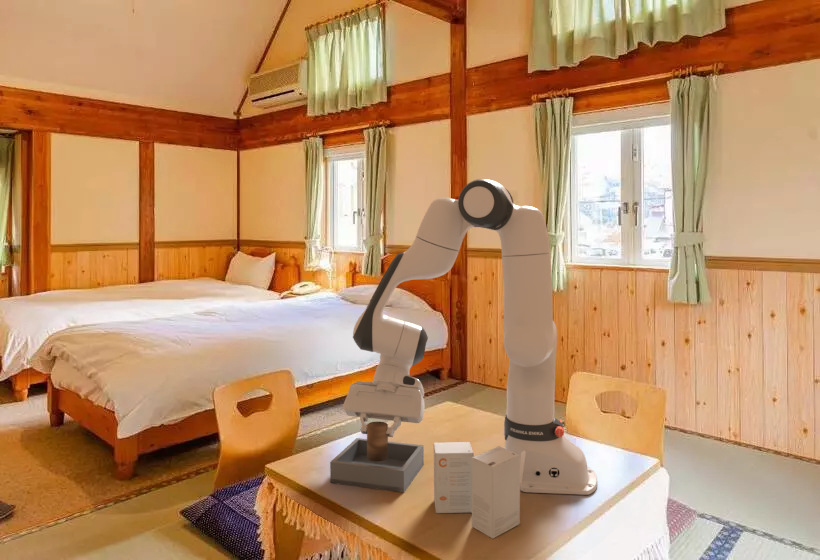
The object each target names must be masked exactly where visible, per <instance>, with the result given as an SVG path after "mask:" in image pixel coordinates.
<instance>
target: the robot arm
mask: <svg viewBox="0 0 820 560" xmlns="http://www.w3.org/2000/svg"><path fill="white" fill-rule="evenodd" d="M546 223H547V222H546V219H545V216H544V214H543V212H542V211H541V210H540V209H539V208H537V207H534V206H529V205H516V204H515V203H514V199H513V196H512V194H511V192H510V191H509V190H508V189H507V188H505V186H504V185H502V184H501V183H499V182H497V181H495V180H491V179H487V178H478V179H474V180H472V181H469V182H468V183H467V184H465V186H464V187H463V188H462V190H461V191H460V193H459V195H458V199H456V198H451V197H438V198H436V199H434V200H433V201H432V202H431V203H430V205H429V206H428V208H427V210H426V212H425V213H424V215H423V218H422V220H421V223H420V225H419V227H418V229H417V233H416V236H415V239H414V240H413V242H412V244H411V246H409V248H408V249H407V250H405V251H404V252H399V253H397V254H396V255H395V256H394V257H393V259H392V261H391V262H390V264H389V265H388V267H387V269H386V271H385V272H384V274H383V276H382V277H381V279H380V281H379V284H378V285H377V287H376V289H375V291H374V293H373V295H372V297H371V299H370V300H369V302H368V304H367V306H366V308H365V309H364V311H363V312H362V314H360V316H359V317H358V319H357V320H356V322H355V324H354V327H353V331H352V339H353V341H354V343H355V344H356V346H357V347H358V348H359V350H362V351H367V352H371V353H377V354H380V355H379V362H378V364H377V366H376V369H375V372H374V376H373V379H372V381H362V380H359V381H358V380H357V381H355V382H353V383H351V384H350V386H349V389H348V393H347V395H346V397H345V399H344V402H343V405H342V408H343V410H344V412H345V414H346V416H348V417H355V418H356V417H357V418H359V419H360V423H361V426H360V427H361V428H360V432H361V434H363V435H367V423H366V422H368V420H369V419H374V420H375V419H376V420H382V421H383V420H384V421H393V423H392V424H391V426H388V427H387V431H386V435H387V436H388V438H394V435H395V431H396V430H397V429H399V428H400V427H401V425H402V422H403V423H410V424H413V423H414V424H421V422H423V420H424V416H425V408H426V407H425V405H426V404H425V400H424V396H425V389H424V386H423V383H422V382H421V381H420V380H419V379H418V378H416V377H414V376H411V375H410V372H411V371H410V370H411V369H412V367H414V366H416V365H418V363H420V362H422V361H423V359H424V356H425V351H426V346H427V342H428V338H429V336H428V334H427V332H426V331H425V330H426V329H425V328H424V327H423V326H421V325H419V324H416V323H412V322H410V321H406V320H402V319H399V318H397V317H393V316H390V315H387V314H385V313H384V310H385V308H386V305H387V304H388V302H389V300H390V298H391V297H392V295H393V293H394V291H395V289H396V288H397V287H398V286H399V285H400V284H401V283H404V282H409V281H411V280H413V281H414V280H429V279H430V280H431V279H436V278H439V277H441V276H444V275H445V274H447V273H449V271H451V270H452V268H453V266H454V264H455V263H456V260H457V257H458V256H459V252H460V249H461V248H462V247H461V246H462V245H463V244H462V243H463V241H464V238H465V236H466V234H467V232H468V231H469V230H471V228H482V229H487V230H491V231H496V232H497V234H498V236H499V239H500V245H501V264H502V265H501V266H502V279H503V311H502V312H503V321H502V322H503V323H502V324H503V325H502V326H503V327H502V329H503V346H504V352H505V353H506V356H507V358H509V360H508V361H509V362H508V369H507V370H508V372H507V382H506V414H505V417H504V421H503V423H504V424H503V436H504V440H505V442H504V443H505V444H504V449H507V450H509V451H512V452H514V453H516V454H519V455H520V492H523V493H536V494H537V493H538V494H540V493H541V494H561V495H583V496H584V495H591V494H592V493H594V492H595V491H596V489H597V488H598V477H597V474H596V472H595V471H594V470H593V468H591V467H589V466H588V462H587V459H586V456H585V453H584V451H583V450H582V449H581V448H580V447H579V445H577V444H575V443H574V442H573V441H571V440H570V439H569V438H567V436H565V428H564V424H563V420H562V419H561V418H560V419H558V418H556V417H555V388H556V367H557V345H558V344H557V342H558V341H557V340H558V330H557V329H558V328H557V325H556V323H555V321H554V319H553V317H554V316H553V313H554V312H553V277H552V275H553V274H552V260H551V258H552V257H551V246H550V238H549V232H548V228H547V224H546Z"/></svg>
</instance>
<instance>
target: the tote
mask: <svg viewBox="0 0 820 560" xmlns="http://www.w3.org/2000/svg"><path fill="white" fill-rule="evenodd" d="M424 447H425V446H424V445H423V444H414V443H407V442H398V441H397V442H395V441H388V458H387V459H386V460H384V461H370V460H368V459H367V438H359V437H356V438H355V439H354V440H353V441H351V442H350V443H349V444H348V445H347V446H346V447H345V448H344V449H343V450H341V452H339V454H337V455H336V456H335V457H334V458H333V459H332V460H331V461H329V463H330V464H329V465H330V467H329V468H330V469H329V471H330V475H329V476H330V483H331V482H333V483H332V484H336V483H339V484H338V485H344V484H345V485H346V486H351V487H360V488H366V489H367V488H368V489H375V490H381V491H388V492H389V491H391V492H395V493H396V492H397V493H403V494H404V493H405V492H406V490H407V489H408V488H409V486H410V485H411V483H412V482H413V481H414V479H415V478H416V476H417V475H418V473H419V472H420V471H421V469H422V468H423V466H424V465H425V464H424V457H425V456H424V455H425V454H424V450H425V449H424Z"/></svg>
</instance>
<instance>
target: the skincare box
mask: <svg viewBox="0 0 820 560" xmlns="http://www.w3.org/2000/svg"><path fill="white" fill-rule="evenodd" d="M520 509H521V490H520V455H519V454H516V453H514V452H512V451H509V450H507V449H505V447H502V446H496V447H494V448H492V449H489V450H487V451H485V452H482V453H480V454H477V455H474V457H472V513H471V526H472V528H474V529H476V530H478V532H481V533H482V534H484V535H485V536H487V537H489V538H491V539H495V538H497V537H498V536H500V535H502V534H504V533H506V532H507V531H509V530H511V529H513V528H515V527H516V526H519V525H520V524H521V521H520V520H521V519H520V518H521V517H520V516H521V515H520V513H521V510H520Z"/></svg>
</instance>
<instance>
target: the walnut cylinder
mask: <svg viewBox="0 0 820 560" xmlns="http://www.w3.org/2000/svg"><path fill="white" fill-rule="evenodd" d="M366 425H367V434H366V439H367V459H368V460H370V461H384V460H386V459H387V458H388V442H389V437H388V436H387V435H386V431H387V427H389V423H387V422H384V421H372V422H368V423H366Z"/></svg>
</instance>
